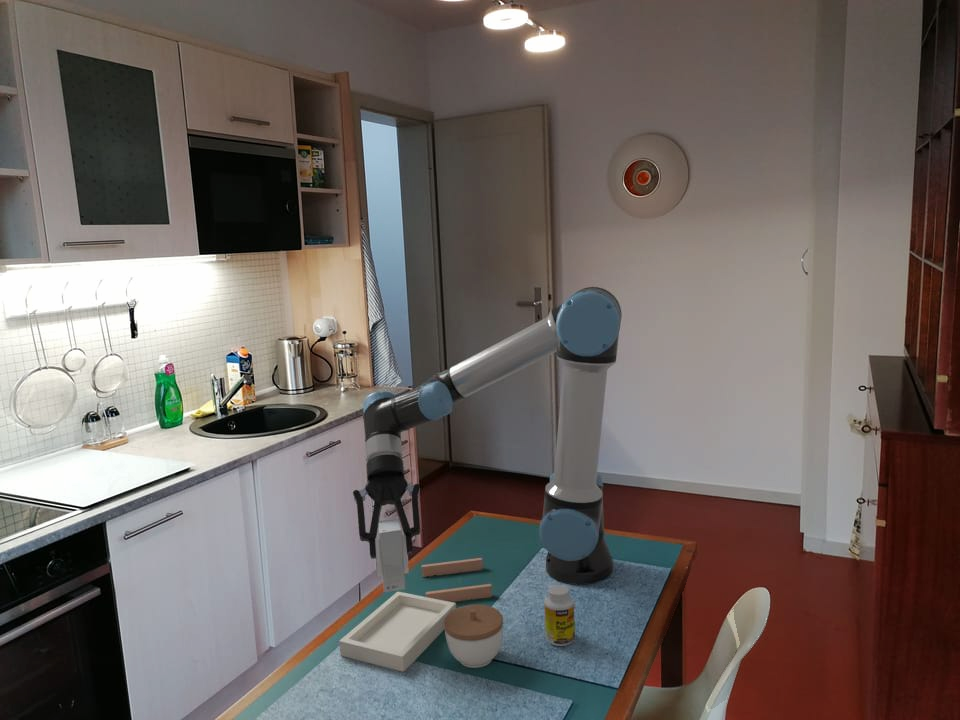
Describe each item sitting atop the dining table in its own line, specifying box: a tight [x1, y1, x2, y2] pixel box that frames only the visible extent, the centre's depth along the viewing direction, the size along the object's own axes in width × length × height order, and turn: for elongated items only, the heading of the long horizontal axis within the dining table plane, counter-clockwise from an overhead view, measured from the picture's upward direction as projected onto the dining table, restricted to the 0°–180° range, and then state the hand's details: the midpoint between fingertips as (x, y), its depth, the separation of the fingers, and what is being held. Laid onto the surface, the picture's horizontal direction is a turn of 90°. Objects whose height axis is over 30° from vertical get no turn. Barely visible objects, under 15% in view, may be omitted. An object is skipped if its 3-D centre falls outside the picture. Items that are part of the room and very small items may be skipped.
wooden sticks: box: [421, 557, 493, 603], centre depth 157 cm, size 14×14×2 cm
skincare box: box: [378, 518, 406, 593], centre depth 136 cm, size 6×4×12 cm
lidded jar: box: [444, 604, 504, 669], centre depth 129 cm, size 11×11×9 cm
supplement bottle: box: [543, 584, 576, 647], centre depth 133 cm, size 6×6×10 cm
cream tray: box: [338, 591, 457, 673], centre depth 138 cm, size 20×14×3 cm
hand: (393, 572), depth 132 cm, fingers closed on skincare box, 4 cm apart
